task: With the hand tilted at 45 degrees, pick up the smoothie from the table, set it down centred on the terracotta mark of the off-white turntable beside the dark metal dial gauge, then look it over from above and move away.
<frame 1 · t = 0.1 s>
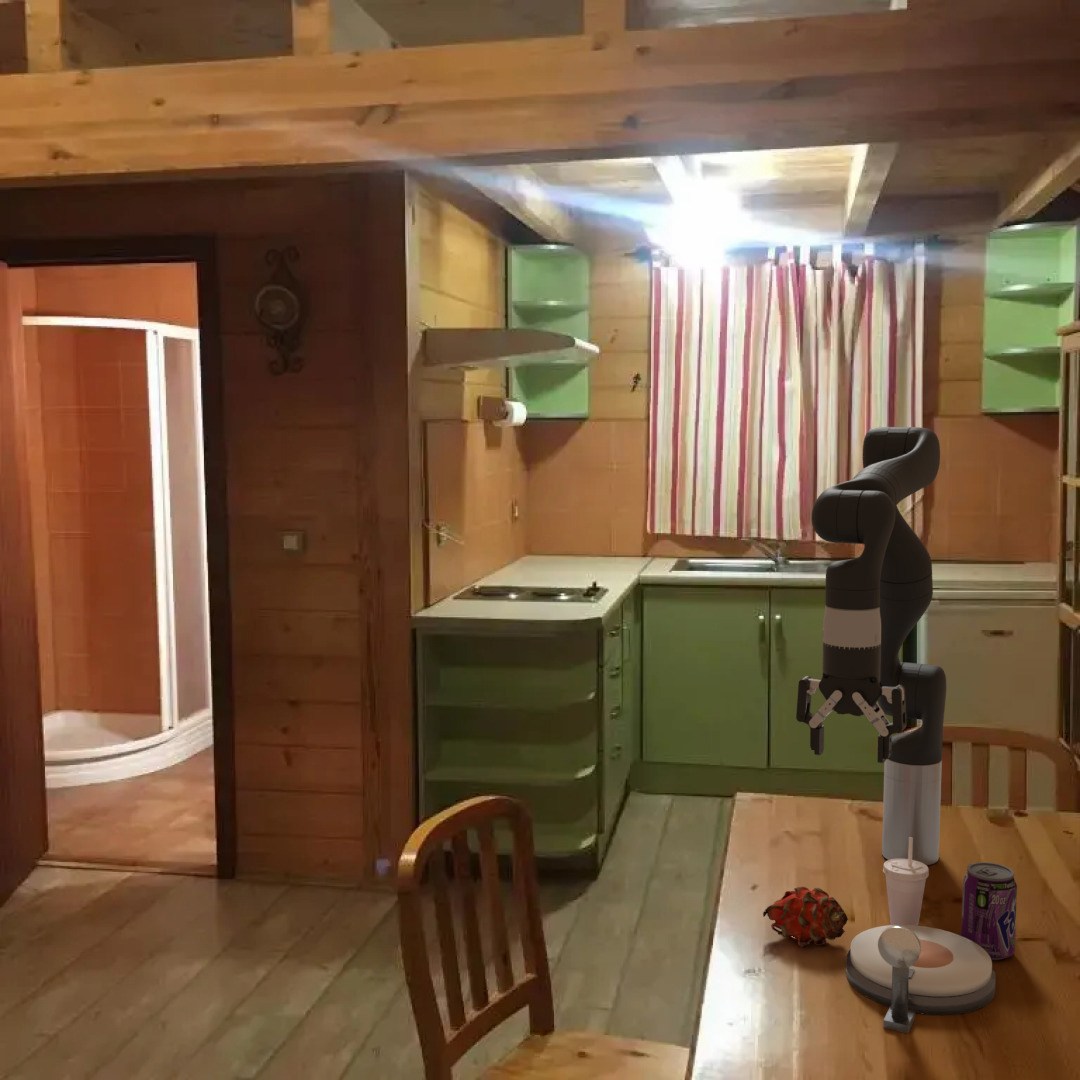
hand: (849, 757, 167), 29 cm above the table, tool pointing down, fingers open, 8 cm apart
dragon fruit: (804, 942, 177), on the table
turntable: (920, 957, 165), point 3 cm above the table, hinge at 0.0°
smoothie: (903, 931, 180), on the table
beverage can: (987, 953, 173), on the table
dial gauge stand: (899, 1023, 153), on the table
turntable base: (919, 979, 165), on the table
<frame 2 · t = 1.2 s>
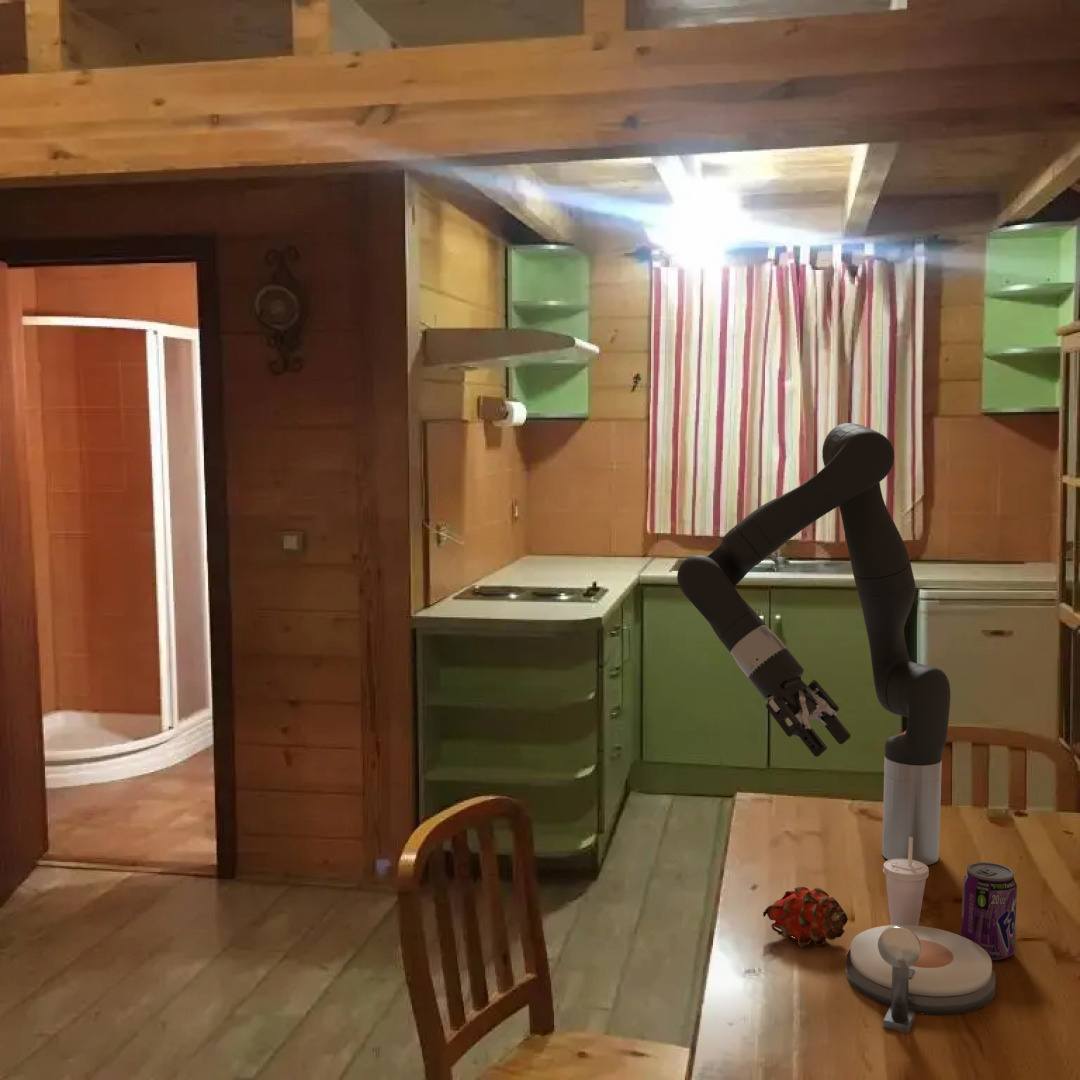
hand: (834, 746, 185), 25 cm above the table, tool tilted 45°, fingers open, 8 cm apart
nothing on the table moved.
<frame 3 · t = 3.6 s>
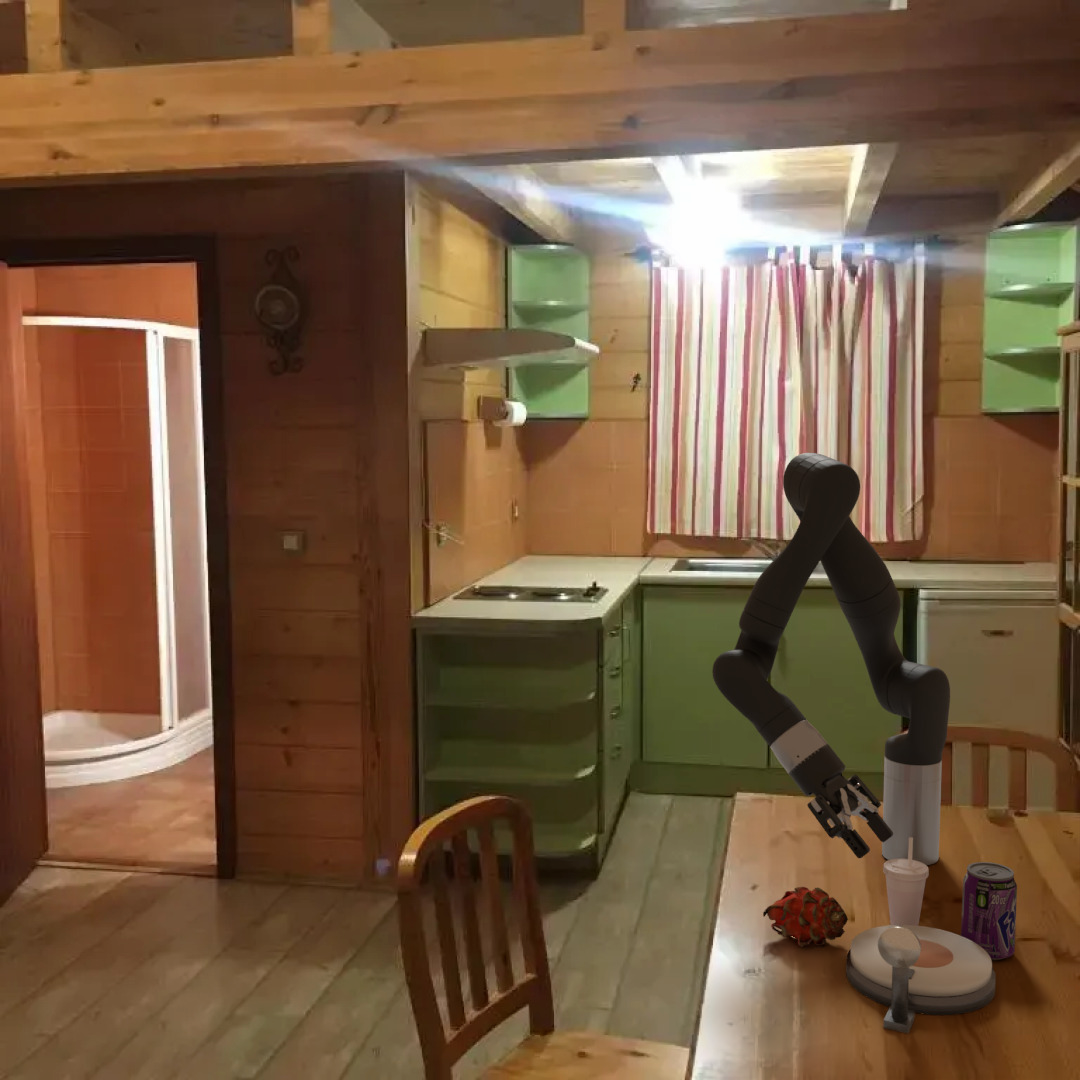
hand: (877, 846, 182), 12 cm above the table, tool tilted 45°, fingers open, 8 cm apart
nothing on the table moved.
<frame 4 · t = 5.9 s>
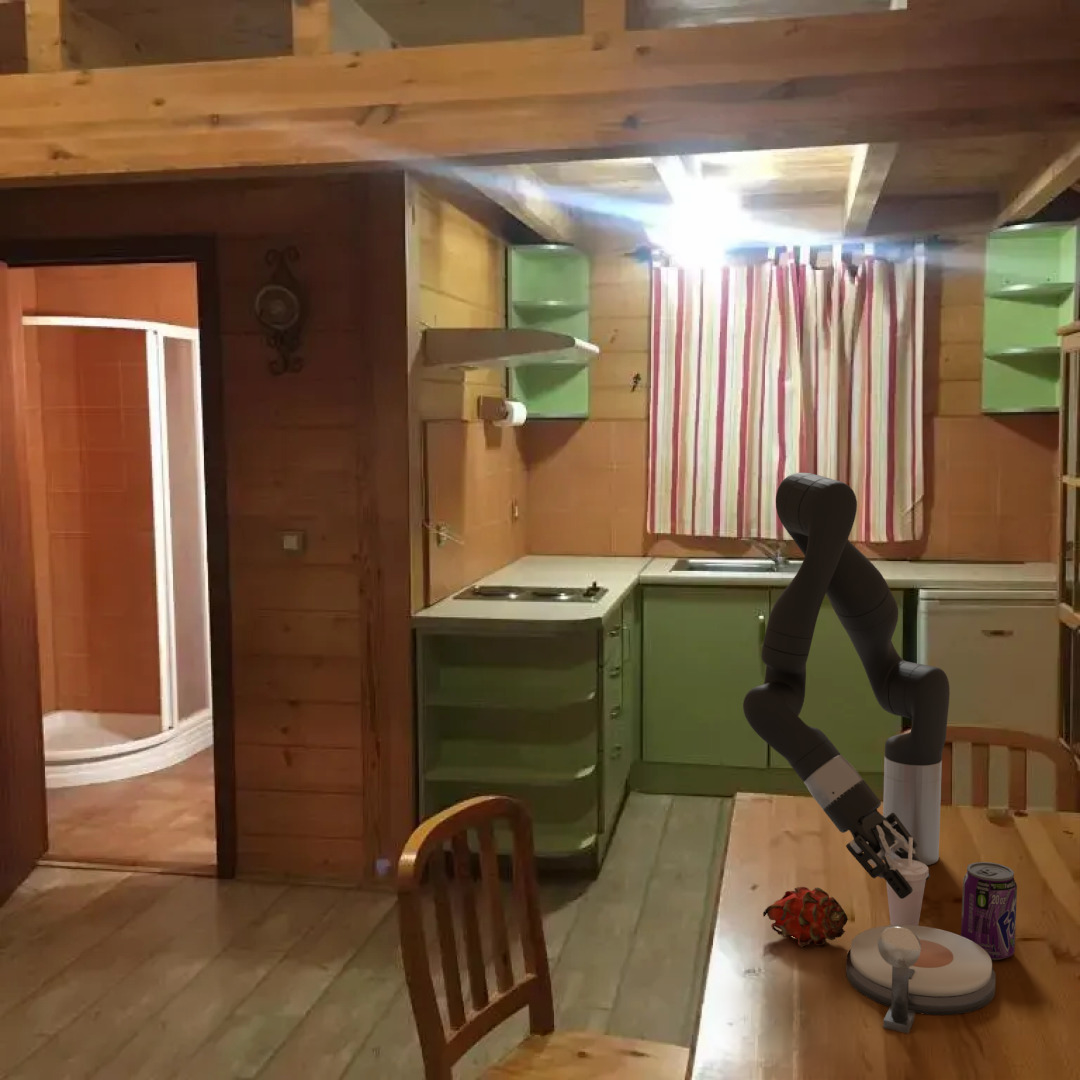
hand: (916, 887, 179), 7 cm above the table, tool tilted 45°, fingers closed on smoothie, 6 cm apart
smoothie: (903, 931, 180), on the table, touching gripper
everything else where it was.
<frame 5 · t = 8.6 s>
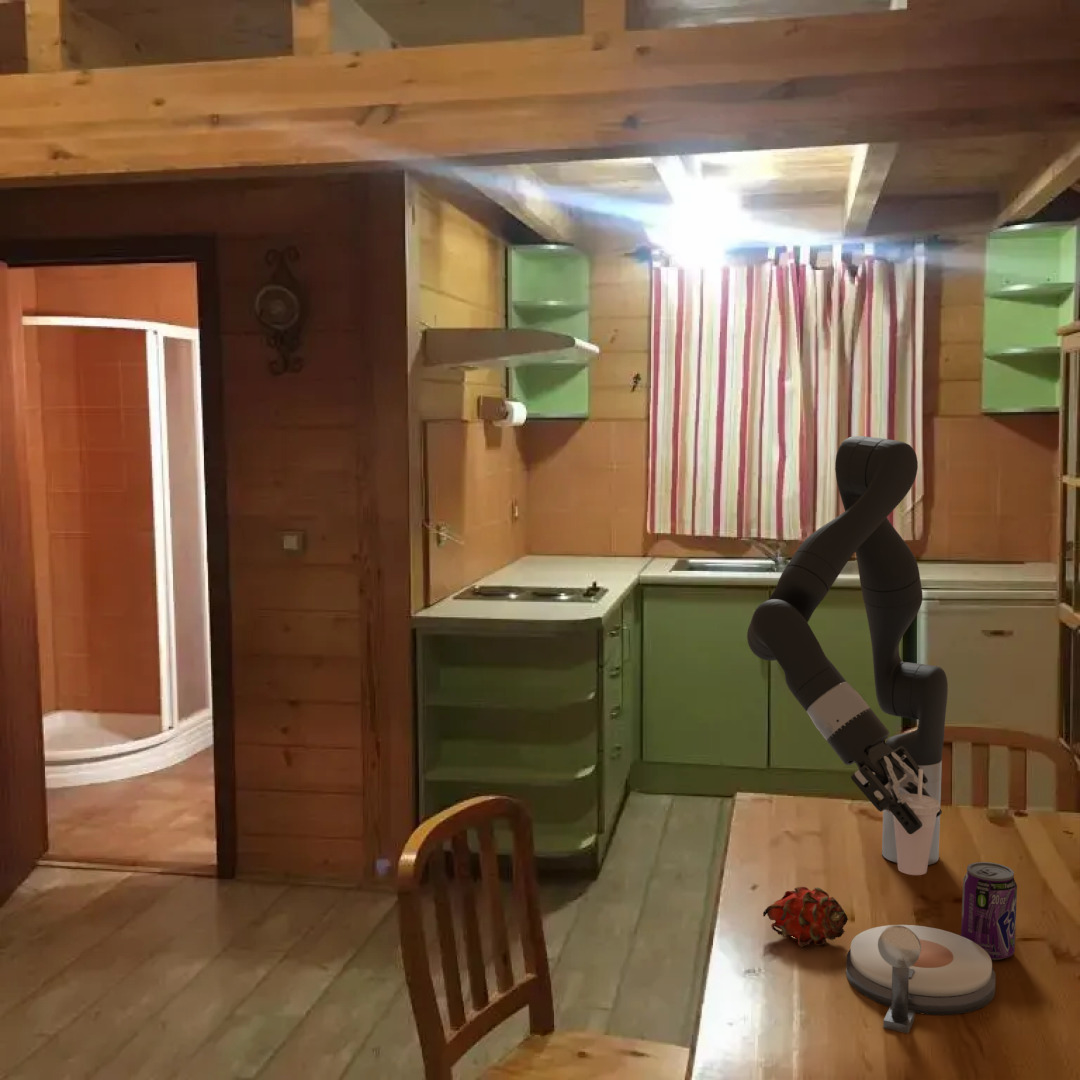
hand: (926, 823, 165), 21 cm above the table, tool tilted 45°, fingers closed on smoothie, 6 cm apart
smoothie: (912, 871, 167), point 14 cm above the table, touching gripper
everything else where it was.
when the fingers open (12 cm above the table, at t = 11.4 s): smoothie drops 1 cm, resting on turntable.
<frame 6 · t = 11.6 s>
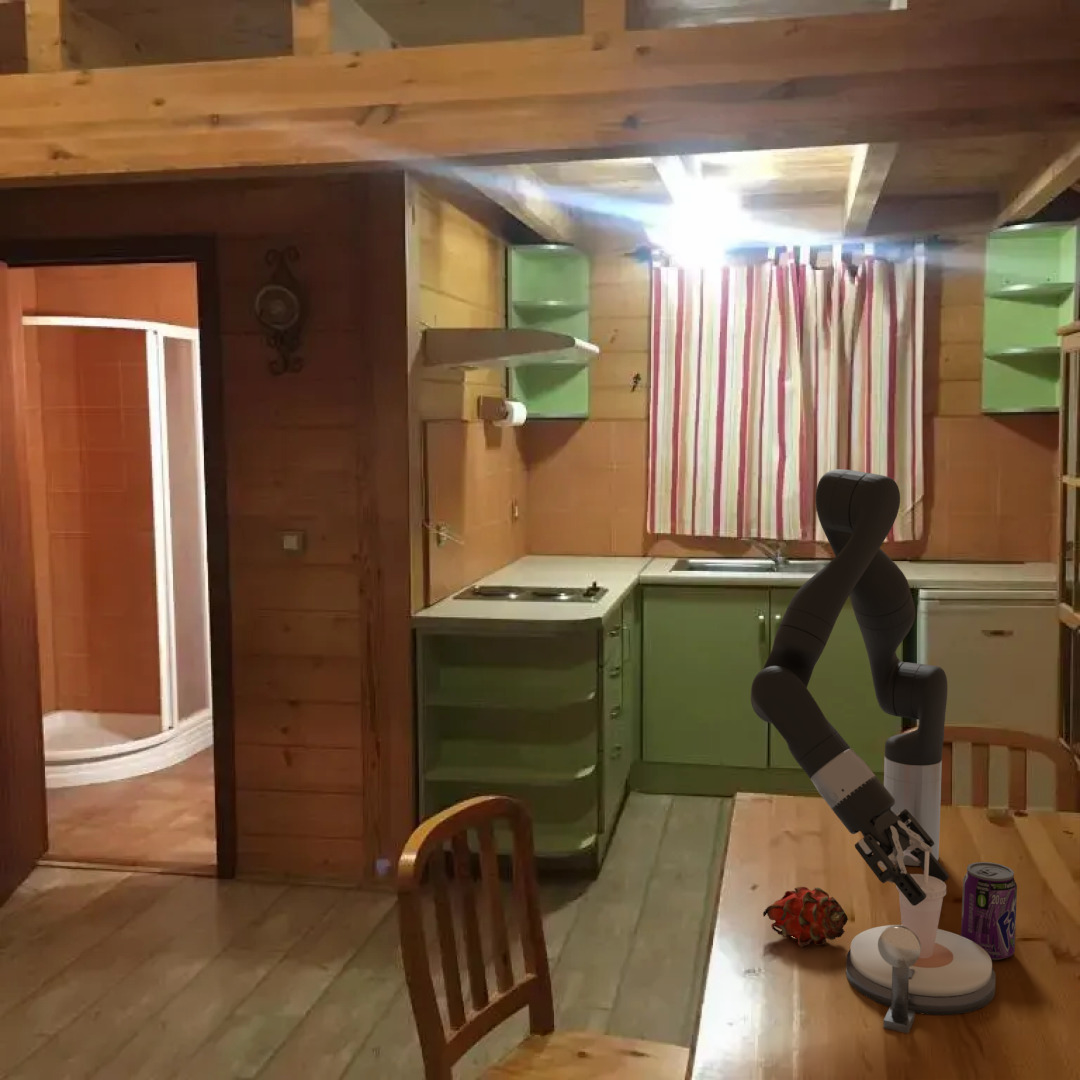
hand: (932, 891, 163), 13 cm above the table, tool tilted 45°, fingers open, 8 cm apart
turntable: (920, 957, 165), point 3 cm above the table, hinge at 0.0°, touching smoothie
smoothie: (918, 953, 165), point 4 cm above the table, touching turntable
everything else where it was.
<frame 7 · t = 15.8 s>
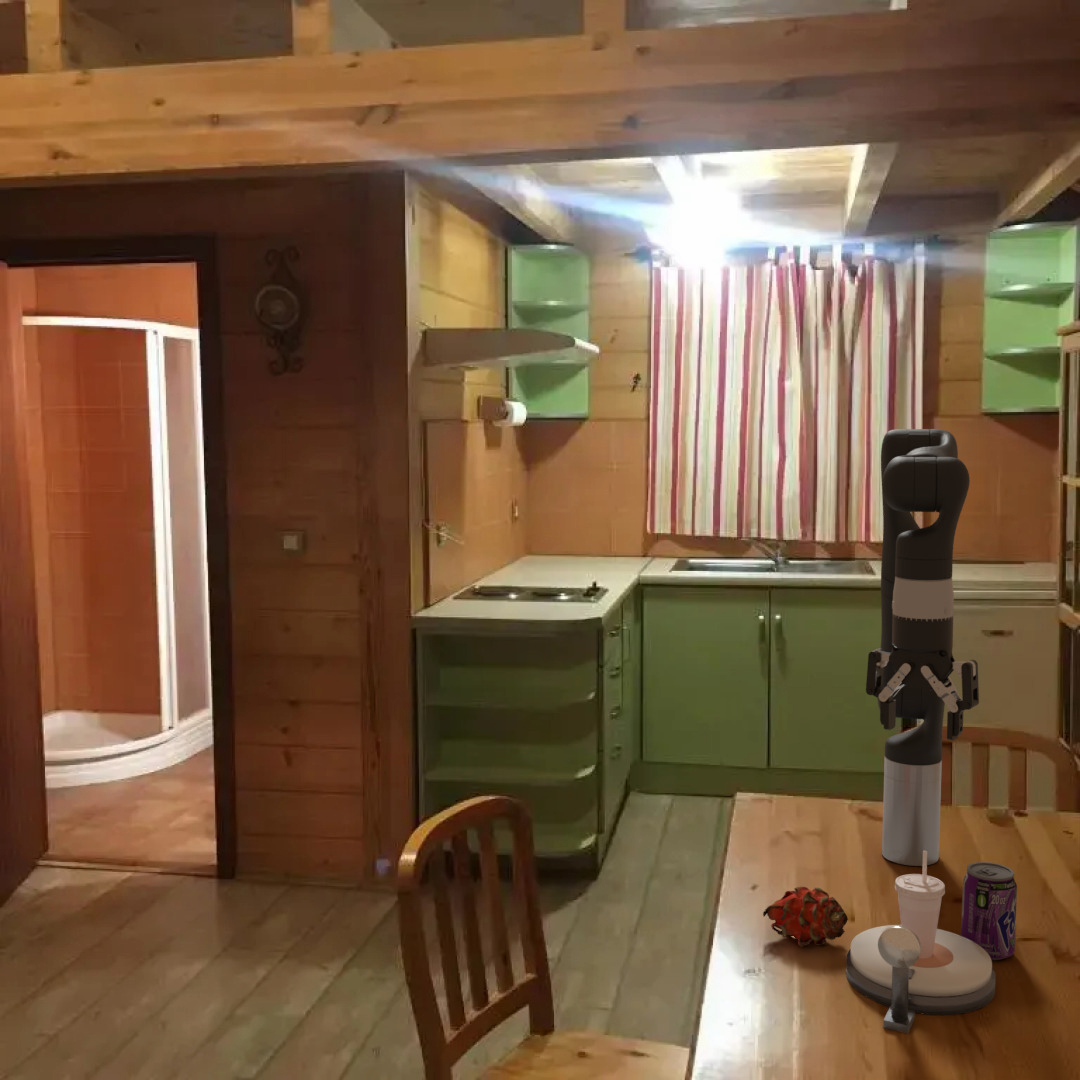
hand: (920, 733, 161), 34 cm above the table, tool pointing down, fingers open, 8 cm apart
nothing on the table moved.
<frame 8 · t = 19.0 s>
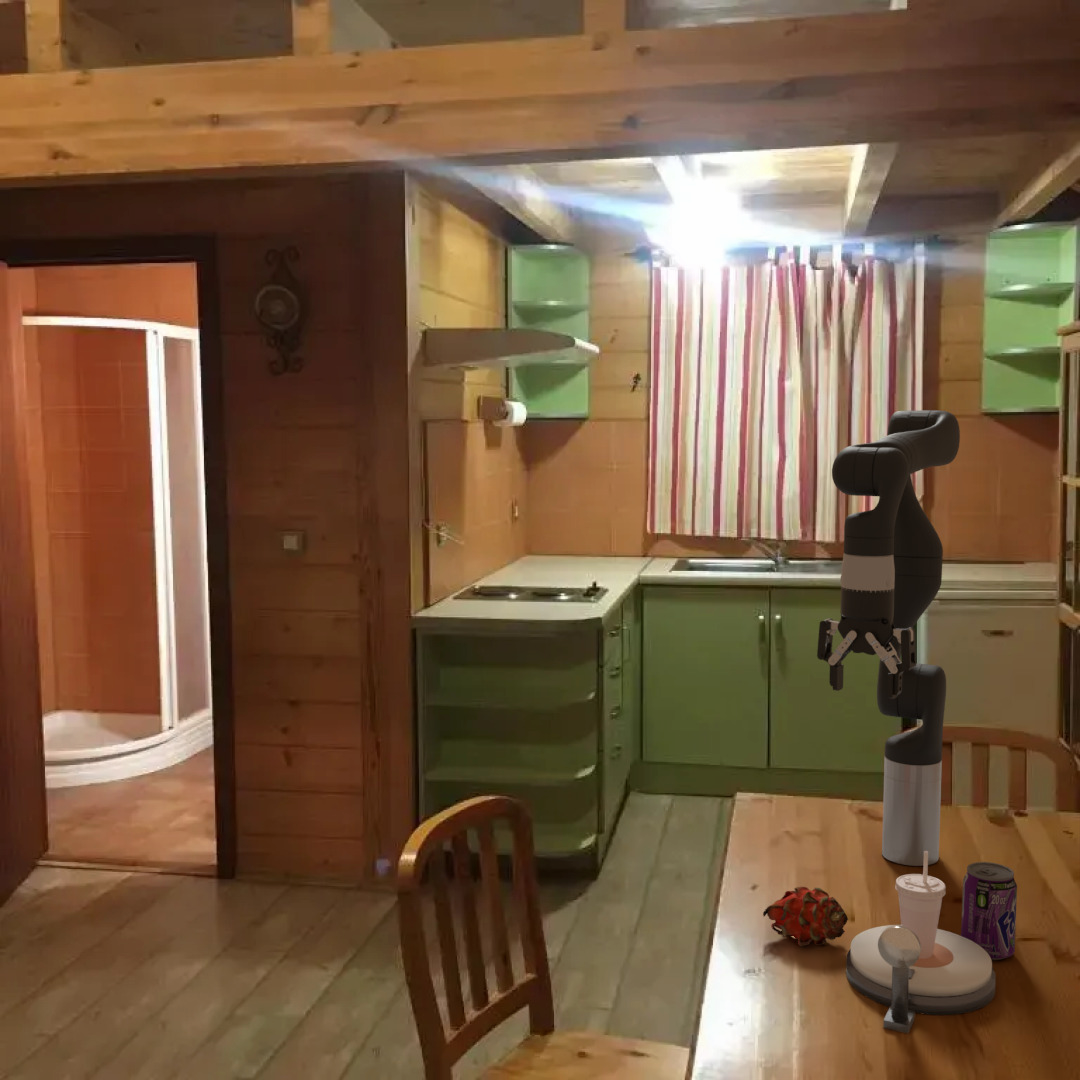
hand: (864, 693, 182), 34 cm above the table, tool pointing down, fingers open, 8 cm apart
nothing on the table moved.
at the end: smoothie 0.2 cm off-centre on the turntable, point 3.6 cm above the turntable's base; smoothie tilted 1°; the gripper is holding nothing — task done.
